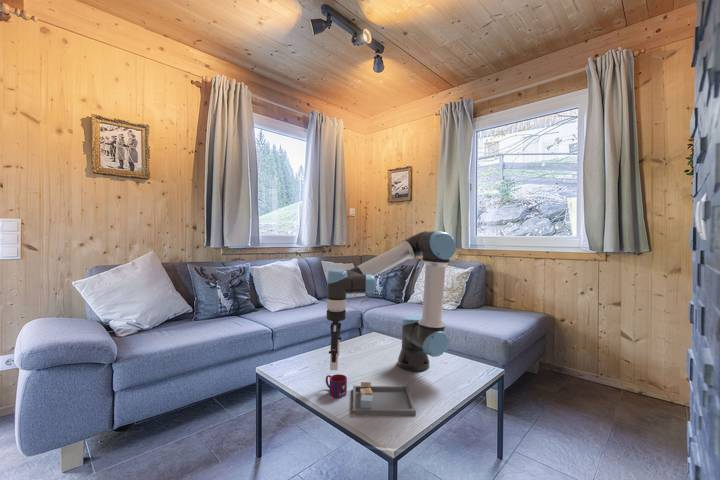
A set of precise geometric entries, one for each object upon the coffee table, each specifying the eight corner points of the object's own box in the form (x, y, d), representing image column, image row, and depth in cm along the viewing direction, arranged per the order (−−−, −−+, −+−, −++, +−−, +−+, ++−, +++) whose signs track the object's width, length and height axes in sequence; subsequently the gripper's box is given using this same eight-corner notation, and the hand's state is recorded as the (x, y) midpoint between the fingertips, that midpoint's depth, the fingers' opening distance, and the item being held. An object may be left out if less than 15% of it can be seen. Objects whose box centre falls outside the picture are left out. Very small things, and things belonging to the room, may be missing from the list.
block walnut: (370, 392, 130) (370, 382, 130) (371, 397, 126) (371, 387, 126) (360, 392, 130) (360, 382, 130) (360, 397, 126) (360, 386, 126)
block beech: (370, 398, 125) (370, 387, 125) (372, 403, 122) (372, 393, 121) (360, 399, 125) (360, 388, 125) (362, 404, 121) (362, 393, 121)
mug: (336, 401, 124) (337, 383, 124) (321, 391, 131) (321, 374, 131) (350, 395, 129) (350, 378, 128) (334, 386, 136) (334, 370, 136)
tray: (407, 391, 132) (407, 385, 132) (415, 416, 114) (415, 410, 114) (353, 390, 132) (353, 385, 132) (352, 416, 114) (352, 410, 114)
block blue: (372, 406, 120) (372, 395, 120) (371, 412, 116) (371, 401, 116) (361, 405, 120) (362, 394, 120) (360, 411, 116) (360, 400, 116)
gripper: (329, 302, 141) (328, 350, 142) (323, 317, 116) (322, 376, 117) (346, 302, 141) (345, 351, 142) (344, 317, 116) (343, 376, 117)
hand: (334, 362), depth 129 cm, fingers open, 13 cm apart
